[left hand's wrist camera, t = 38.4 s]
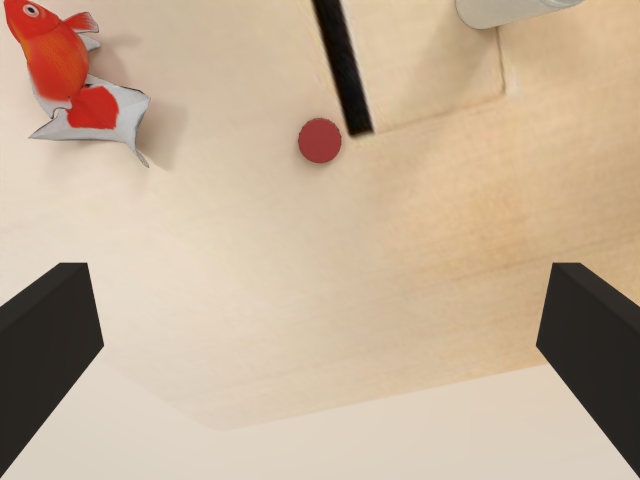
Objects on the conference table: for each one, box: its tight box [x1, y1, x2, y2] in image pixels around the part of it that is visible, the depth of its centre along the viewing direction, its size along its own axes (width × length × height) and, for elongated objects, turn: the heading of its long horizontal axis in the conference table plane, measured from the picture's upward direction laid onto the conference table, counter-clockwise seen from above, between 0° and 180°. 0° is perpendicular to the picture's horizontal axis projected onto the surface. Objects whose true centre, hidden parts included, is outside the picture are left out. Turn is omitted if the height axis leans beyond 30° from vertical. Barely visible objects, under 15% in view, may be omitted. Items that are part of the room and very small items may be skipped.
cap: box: [298, 118, 341, 163], centre depth 43 cm, size 4×4×2 cm
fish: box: [4, 0, 151, 168], centre depth 38 cm, size 11×16×10 cm
